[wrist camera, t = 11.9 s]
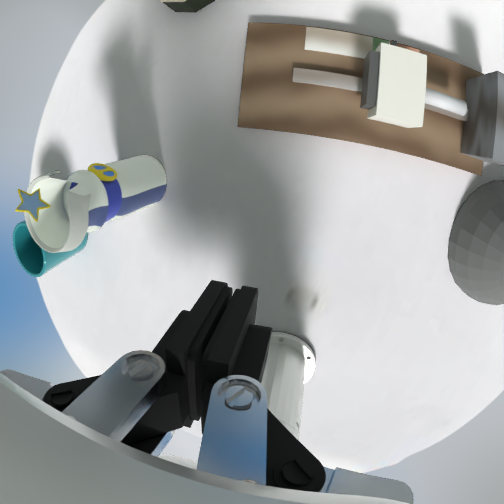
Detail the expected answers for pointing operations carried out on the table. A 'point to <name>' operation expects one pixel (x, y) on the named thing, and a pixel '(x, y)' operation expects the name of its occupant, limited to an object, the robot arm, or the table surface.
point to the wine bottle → (187, 5)
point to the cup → (38, 252)
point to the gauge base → (349, 96)
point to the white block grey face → (400, 87)
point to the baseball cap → (480, 245)
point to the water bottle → (89, 200)
